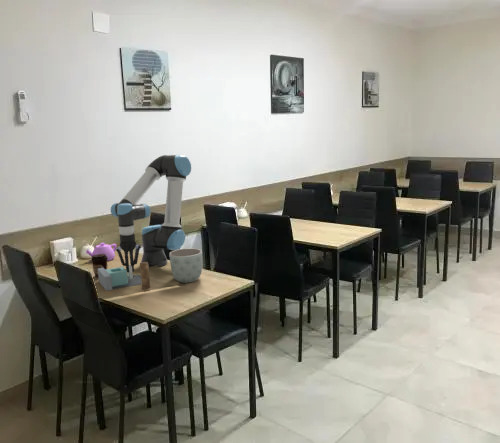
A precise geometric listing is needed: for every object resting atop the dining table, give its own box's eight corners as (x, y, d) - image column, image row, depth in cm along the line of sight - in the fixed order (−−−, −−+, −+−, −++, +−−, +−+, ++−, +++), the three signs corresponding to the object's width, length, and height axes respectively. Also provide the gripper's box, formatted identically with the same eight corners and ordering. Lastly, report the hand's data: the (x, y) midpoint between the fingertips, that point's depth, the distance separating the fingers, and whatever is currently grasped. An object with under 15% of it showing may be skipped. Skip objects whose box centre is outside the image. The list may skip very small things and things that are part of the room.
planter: (209, 281, 251) (207, 252, 248) (178, 287, 243) (176, 258, 240) (195, 273, 265) (193, 246, 263) (166, 279, 257) (164, 251, 254)
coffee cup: (104, 281, 258) (101, 257, 256) (90, 280, 260) (87, 257, 258) (112, 276, 267) (109, 253, 264) (98, 275, 269) (95, 253, 266)
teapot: (82, 261, 301) (80, 244, 299) (112, 254, 314) (111, 238, 312) (91, 265, 291) (89, 248, 289) (122, 258, 304) (120, 242, 301)
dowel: (148, 288, 244) (146, 261, 241) (151, 290, 240) (149, 263, 237) (141, 289, 242) (138, 262, 239) (143, 292, 238) (141, 264, 236)
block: (123, 279, 256) (122, 266, 254) (128, 283, 248) (127, 270, 247) (106, 282, 252) (105, 269, 250) (110, 287, 244) (109, 273, 242)
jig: (138, 276, 264) (137, 262, 262) (147, 285, 248) (146, 269, 247) (98, 283, 254) (97, 268, 253) (106, 293, 239) (104, 277, 237)
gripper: (137, 230, 254) (141, 274, 259) (112, 234, 248) (116, 278, 253) (141, 233, 248) (145, 277, 252) (115, 236, 242) (120, 281, 246)
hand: (130, 277), depth 253 cm, fingers closed
